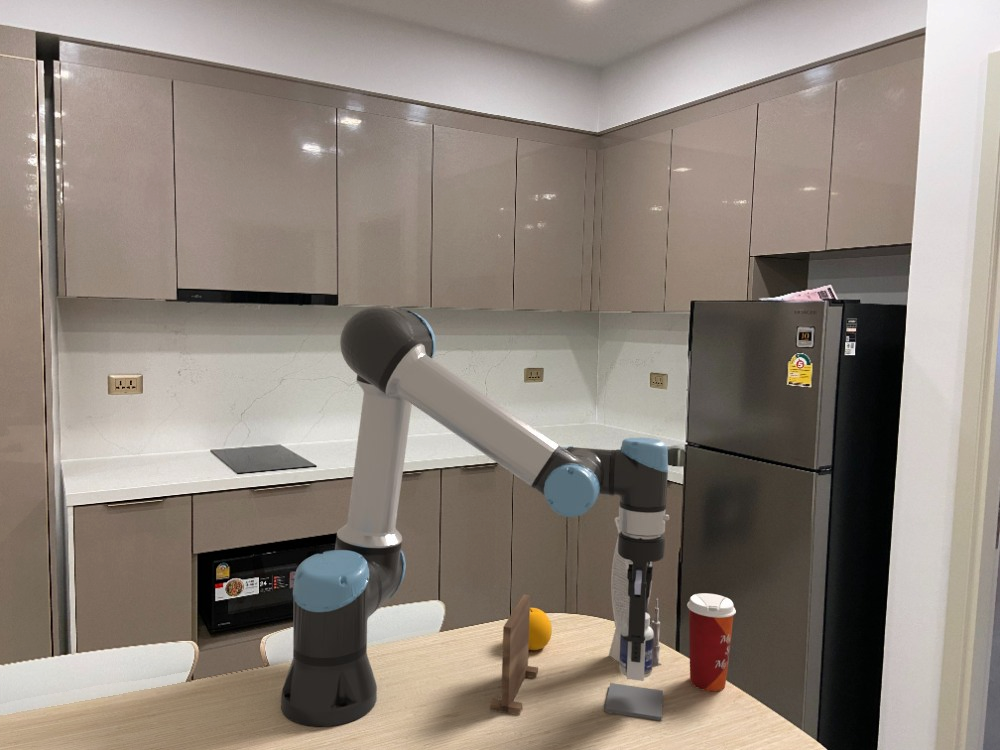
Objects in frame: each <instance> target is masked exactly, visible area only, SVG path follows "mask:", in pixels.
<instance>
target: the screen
mask: <svg viewBox="0 0 1000 750" xmlns="http://www.w3.org/2000/svg"><path fill="white" fill-rule="evenodd" d="M530 608H531V595H529V594H523V595H522V596H521V598H520V600H519V602H518V603H517V604H516V606H515V607H514V609H513V610H512V612H511V614H510V615H509V617H508V619H507V620H506V622H505V623H504V625H503V629H502V630H503V631H502V637H503V638H502V656H501V657H502V661H501V662H502V663H501V692H500V693H501V695H500V697H501V698H495V697H492V699H491V701H490V702H489V709H488V710H489V711H493V712H494V711H496V712H500V713H506V714H512V715H518V716H520V715H521V712H522V711H523V702H522V701H521V702H520V701H515V700H516V697H517V695H518V693H519V691H520V690H521V689H520V688H521V687H522V684H523V683H524V680H525V678H526V677H527V678H534V679H536V678H537V676H538V674H539V667H537V666H531V665H530V666H529V650H528V648H529V618H530Z"/></svg>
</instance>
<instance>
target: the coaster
mask: <svg viewBox="0 0 1000 750" xmlns="http://www.w3.org/2000/svg"><path fill="white" fill-rule="evenodd" d="M663 701H664V690H662V689H655V688H648V687H642V686H635V685H629V684H628V685H627V684H623V683H622V684H620V683H613V682H610V683H609V687H608V693H607V696H606V701H605V704H604V705H605V706H604V713H609V714H615V715H620V716H621V715H622V716H627V717H628V716H629V717H634V718H641V719H648V720H655V721H661V722H662V718H663V717H662V715H663Z"/></svg>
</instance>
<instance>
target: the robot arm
mask: <svg viewBox="0 0 1000 750" xmlns="http://www.w3.org/2000/svg"><path fill="white" fill-rule="evenodd" d="M339 341H340V342H339V345H340V346H339V347H340V351H341V355H342V358H343V359H344V361H345V363H346V364H347V366H348V367H349V369H351V371H353V372H354V373H355V374H356V383H357V384H358V386H359V387H360V388H361V389H362V391H363V397H362V404H361V412H360V421H359V427H358V436H357V443H356V444H357V445H356V449H355V450H356V452H355V459H354V467H353V468H354V469H353V476H352V481H351V482H352V483H351V489H350V490H351V492H350V500H349V505H348V514H347V521H346V523H345V525H343V526H342V527H340V528H339V529H338V530H337V531H336V532H337V533H336V538H335V548H334V550H332V549H331V550H326V551H323V552H322V553H315V554H313V555H311V556H309V557H307V558H305V559H304V560H303V561H302V562H301V563H300V564H298V565H297V567H296V571H295V573H294V584H293V587H292V597H293V611H292V612H293V619H292V620H293V622H292V623H293V624H292V625H293V626H292V627H293V630H292V631H293V632H292V633H293V636H292V637H293V641H292V642H293V643H292V645H293V649H292V650H293V651H292V652H293V654H292V660H291V663H290V665H289V669H288V672H287V675H286V678H285V681H284V684H283V687H282V690H281V696H280V698H281V699H280V700H281V701H280V709H281V712H282V714H283V715H284V716H285V717H286V718H287V719H289V720H291V721H293V722H294V723H298V724H301V725H305V726H312V727H328V726H331V727H332V726H336V725H337V726H338V725H343V724H345V723H346V724H347V723H350V722H352V721H353V722H354V721H355V720H358V719H360V718H361V717H362V718H363V716H365V715H366V714H368V713H370V711H372V709H374V707H375V705H376V703H377V695H378V693H377V692H378V691H377V690H378V688H377V686H378V685H377V682H376V679H375V675H374V672H373V669H372V666H371V662H370V660H369V656H368V653H367V649H368V648H367V646H368V620H369V618H370V617H371V616H372V615H373V614H374V613H375V612H377V611H378V609H380V607H382V606H383V605H384V604H385V603H386V602H387V601H388V600H390V599H391V598H392V597H393V596H394V595H395V594H396V593H397V591H398V590H399V587H401V584H402V583H403V580H404V578H405V574H406V568H407V566H406V564H407V563H406V557H405V554H404V551H403V550H402V545H403V535H402V534H401V533H400V532H399V531H398V529H397V528H396V524H397V518H398V510H399V509H398V508H399V502H400V494H401V489H402V488H401V487H402V480H403V472H404V467H405V466H404V465H405V457H406V452H407V451H406V450H407V443H408V435H409V428H410V420H411V414H412V413H411V412H412V406H414V407H415V408H417V409H419V410H420V411H421V412H423V413H424V414H425V415H428V416H429V417H430V418H431V419H433V420H434V421H436V422H437V423H438V424H440V425H441V426H443V427H444V428H446V429H447V430H449V431H451V432H452V433H453V434H454V435H456V436H457V437H459V438H460V439H462V440H463V441H465V442H466V443H468V444H469V445H470V446H472V447H473V448H475V449H476V450H478V451H479V452H481V453H482V454H484V456H486V457H488V458H490V459H491V460H492V461H494V462H495V463H497V464H498V465H499V466H501V467H502V468H503V469H505V470H507V471H508V472H509V473H511V474H513V475H514V476H515V477H517V478H519V479H520V480H521V481H522V482H524V483H525V484H527V485H529V486H530V487H532V488H533V489H534V490H535V491H537V492H538V493H540V494H541V495H542V496H544V498H545V501H546V503H547V504H548V506H549V507H550V509H551V510H552V511H554V512H555V513H556V514H558V515H560V516H562V517H566V518H575V517H579V516H582V515H584V514H585V513H587V512H588V511H589V510H590V509H591V508H592V507H593V506H594V505H595V504H596V502H597V500H598V497H599V495H604V496H619V505H618V517H619V520H618V524H619V526H618V528H619V530H620V531H621V532H620V533H619V535H618V534H617V535H618V536H617V538H618V553H619V555H620V556H621V557H623V558H624V559H629V560H631V561H632V562H633V564H629V569H628V572H627V579H628V580H629V583H628V595H629V596H630V602H629V628H628V636H624V640H626V641H628V656H627V676H626V679H628V680H634V681H641V682H644V680H645V678H644V663H645V637H644V635H645V615H646V613H648V614H649V609H648V608H649V604H648V598H649V596H650V597H651V594H650V588H651V589H652V587H651V581H652V582H653V572H654V567H653V565H652V566H649V565H650V562H652V563H655V562H659V561H661V560H663V559H664V558H665V550H666V549H665V548H666V547H665V545H666V543H665V542H666V537H665V535H664V533H665V532H666V522H667V521H669V520H670V515H669V514H666V509H667V495H668V473H669V462H668V460H669V459H668V458H669V455H668V454H669V453H668V452H669V451H668V445H667V444H666V443H665V442H664V441H663V440H660V439H657V438H649V437H627V438H624V439H623V440H622V441H621V447H620V448H619V449H601V448H587V447H574V446H573V445H569V446H560V445H559V444H558V443H557V442H555V441H553V439H551V438H549V437H547V436H546V435H545V434H543V433H542V432H541V431H539V430H538V429H536V428H534V427H533V426H531V425H530V424H528V423H527V422H526V421H524V420H523V419H521V418H520V417H518V416H517V415H516V414H514V413H512V412H511V411H509V409H507V408H505V407H504V406H502V405H500V404H499V403H498V402H496V401H495V400H493V398H492V399H491V398H490V397H489V396H487V395H486V394H484V393H483V392H482V391H480V390H478V389H477V388H476V387H474V386H473V385H471V384H470V383H468V382H467V381H465V380H464V379H463V378H461V377H460V376H458V375H456V374H455V373H454V372H453V371H451V370H450V369H448V368H446V367H445V366H443V365H442V364H440V363H439V362H438V361H436V360H434V355H435V352H436V348H437V347H436V346H437V345H436V344H437V343H436V336H435V332H434V331H433V328H432V327H431V325H430V324H429V322H428V321H427V320H426V319H425V317H422V315H420V314H418V313H416V312H413V311H411V310H409V309H404V308H401V307H400V308H398V307H383V306H369V307H366V308H363V309H359V311H357V312H356V313H354V314H352V315H351V317H349V318H348V319H347V321H346V322H345V324H344V326H343V329H342V330H341V334H340V340H339ZM650 625H652V618H651V617H650Z"/></svg>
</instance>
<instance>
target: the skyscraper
mask: <svg viewBox="0 0 1000 750" xmlns="http://www.w3.org/2000/svg"><path fill="white" fill-rule="evenodd" d="M613 520H614V523H615V526H616V529H617V533H618V534H617V535H619V533H620V532H621V531H620V530H619V528H618V526H619V516H616V517H615V518H614V519H613ZM615 543H616V544H615V546H614V547H615V548H614V552H613V559H612V565H611V577H610V578H611V579H610V589H611V591H610V592H611V593H610V594H611V605H612V612H613V621H614V627H615V630H614V633H613V638H612V642H611V645H610V648H609V651H608V658H610V657H611V658H610V659H612V660H613V661H614V660H615V661H614V662H616V663H617V664H619V660H620V638H621V628H622V626H623V625H624V624H626V622H625V618H626V613H627V612H628V611H629V602H630V596H629V595H628V583H629V580H628V579H627V572H628V569H629V564H633V562H632V561H631V560H629V559H624V558H623V557H621V556H620V555H619V553H618V537H617V539H616V542H615ZM652 564H653V562H650V565H649V566H653V565H652ZM652 585H653V580H652V581H651V588H650V596H649V598H648V605H649V604H650V599H651V593H652ZM658 606H659V598H656V599H655V607H654V618H653V619H654V620H651V628H652V630H653V633H654V638H653V659H652V668H654V667H658V666H662V663H660V662H659V659H660V658H659V657H660V652H661V651H660V650H661V649H660V648H661V645H660V633H661V632H660V629H661V622H660V620H659V612H660V609H659V607H658Z"/></svg>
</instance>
